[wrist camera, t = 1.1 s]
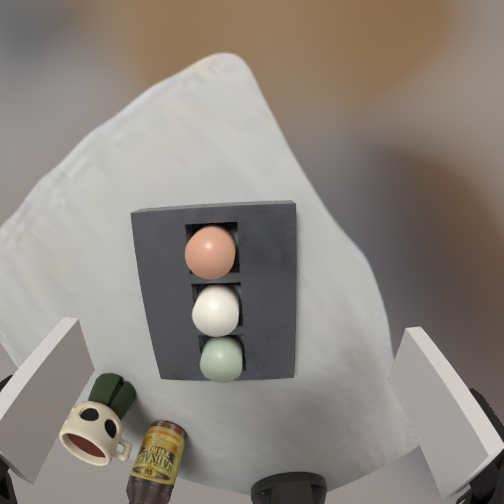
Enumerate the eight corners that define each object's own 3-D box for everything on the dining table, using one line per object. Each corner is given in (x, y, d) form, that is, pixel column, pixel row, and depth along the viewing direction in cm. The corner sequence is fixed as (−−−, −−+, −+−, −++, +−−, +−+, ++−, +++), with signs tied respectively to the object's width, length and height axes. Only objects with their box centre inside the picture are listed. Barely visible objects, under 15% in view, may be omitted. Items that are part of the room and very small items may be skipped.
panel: (290, 363, 35) (293, 377, 32) (166, 365, 35) (161, 378, 32) (291, 200, 30) (295, 203, 27) (140, 209, 30) (130, 212, 27)
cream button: (240, 319, 31) (239, 336, 28) (200, 320, 31) (195, 336, 28) (238, 281, 30) (236, 295, 27) (195, 282, 30) (189, 296, 27)
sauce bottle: (186, 422, 38) (163, 533, 19) (187, 444, 40) (168, 545, 21) (145, 414, 38) (108, 518, 19) (149, 437, 40) (120, 532, 21)
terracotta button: (237, 266, 30) (235, 278, 26) (194, 268, 30) (187, 280, 26) (234, 223, 29) (232, 229, 25) (190, 225, 29) (182, 232, 25)
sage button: (243, 363, 33) (243, 382, 30) (206, 364, 33) (202, 382, 30) (241, 332, 32) (240, 349, 28) (201, 332, 32) (197, 350, 28)
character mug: (157, 395, 37) (133, 465, 24) (137, 417, 38) (114, 479, 26) (94, 352, 35) (50, 411, 22) (80, 377, 36) (42, 433, 24)
